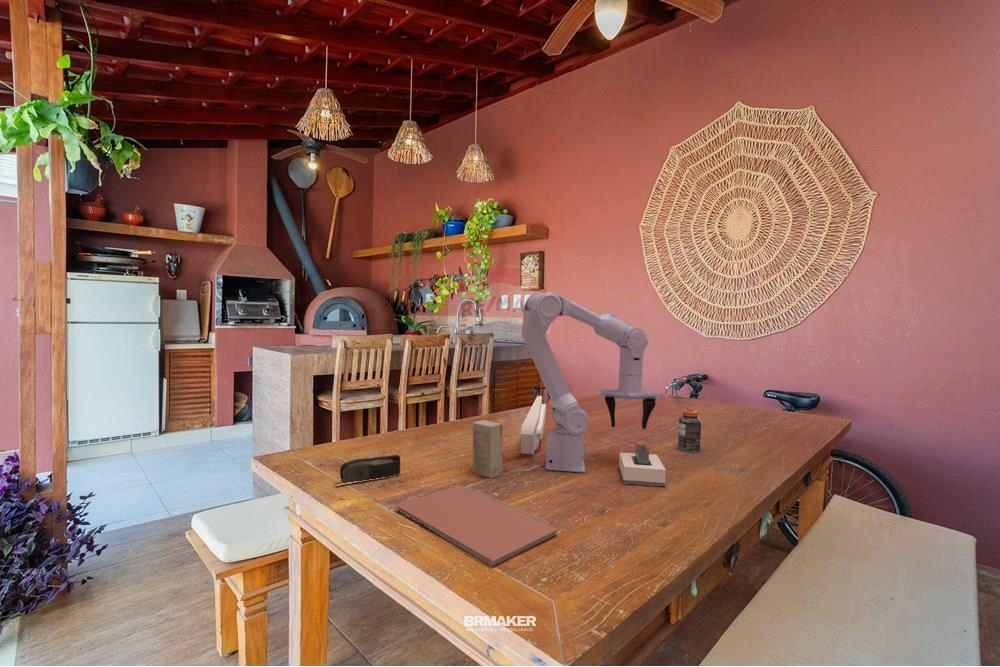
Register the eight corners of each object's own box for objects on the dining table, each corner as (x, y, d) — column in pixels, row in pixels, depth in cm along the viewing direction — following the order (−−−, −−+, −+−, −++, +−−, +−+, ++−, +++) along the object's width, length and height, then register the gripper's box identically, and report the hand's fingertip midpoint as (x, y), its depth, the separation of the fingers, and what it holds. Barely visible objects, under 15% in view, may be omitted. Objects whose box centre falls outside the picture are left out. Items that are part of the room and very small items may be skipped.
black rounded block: (397, 452, 115) (333, 461, 106) (402, 455, 112) (337, 465, 103) (396, 473, 115) (332, 484, 106) (402, 477, 113) (336, 488, 104)
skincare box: (503, 474, 115) (504, 423, 114) (490, 479, 111) (491, 426, 111) (483, 468, 119) (485, 418, 118) (471, 472, 116) (472, 421, 115)
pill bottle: (701, 449, 139) (703, 410, 139) (697, 454, 134) (699, 413, 134) (680, 445, 143) (682, 407, 142) (675, 450, 138) (677, 410, 137)
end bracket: (637, 476, 113) (638, 451, 112) (634, 469, 118) (635, 444, 117) (647, 477, 112) (649, 451, 112) (644, 470, 117) (645, 445, 117)
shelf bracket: (548, 434, 152) (548, 396, 149) (537, 476, 128) (537, 433, 125) (531, 432, 153) (530, 395, 150) (517, 474, 130) (516, 431, 126)
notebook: (562, 536, 86) (562, 525, 86) (492, 571, 74) (493, 559, 74) (463, 491, 105) (463, 482, 105) (395, 513, 94) (395, 503, 93)
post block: (623, 484, 110) (624, 466, 110) (618, 468, 121) (619, 452, 121) (664, 487, 109) (665, 469, 109) (656, 470, 120) (656, 454, 120)
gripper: (602, 375, 121) (600, 429, 122) (663, 377, 119) (660, 432, 120) (600, 371, 128) (598, 422, 129) (657, 373, 126) (655, 425, 127)
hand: (628, 427), depth 125 cm, fingers open, 7 cm apart
